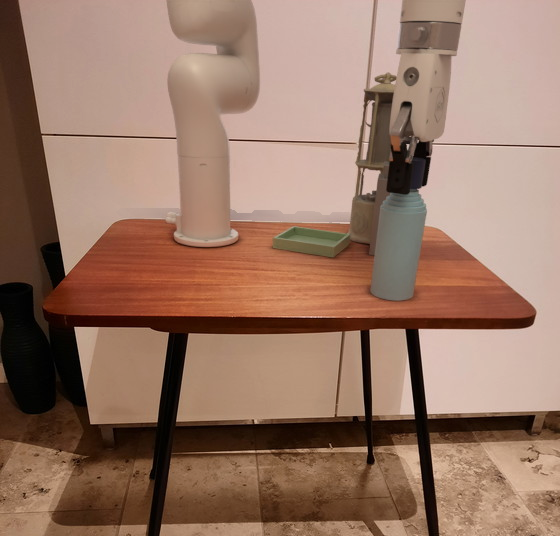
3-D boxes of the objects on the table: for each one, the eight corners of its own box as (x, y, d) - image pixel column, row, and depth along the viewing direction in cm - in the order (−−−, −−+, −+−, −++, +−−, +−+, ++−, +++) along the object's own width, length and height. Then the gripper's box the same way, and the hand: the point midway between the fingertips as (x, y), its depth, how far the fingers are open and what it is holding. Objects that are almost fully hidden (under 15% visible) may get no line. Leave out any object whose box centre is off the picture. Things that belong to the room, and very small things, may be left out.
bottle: (365, 296, 83) (380, 164, 74) (376, 283, 88) (391, 159, 79) (408, 303, 81) (429, 169, 72) (416, 290, 86) (437, 163, 77)
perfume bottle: (405, 258, 101) (421, 154, 92) (368, 254, 102) (380, 151, 93) (405, 248, 107) (420, 149, 98) (370, 245, 108) (382, 147, 99)
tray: (272, 248, 104) (272, 237, 103) (292, 235, 112) (293, 226, 111) (333, 257, 100) (334, 246, 99) (349, 244, 108) (350, 234, 107)
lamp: (352, 245, 107) (369, 71, 93) (339, 228, 119) (352, 71, 104) (403, 245, 108) (427, 73, 94) (385, 228, 120) (405, 73, 105)
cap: (414, 183, 79) (418, 156, 77) (426, 189, 75) (431, 161, 74) (387, 183, 78) (391, 156, 76) (398, 189, 75) (402, 160, 73)
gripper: (437, 37, 60) (412, 203, 69) (474, 46, 73) (449, 183, 82) (373, 37, 63) (358, 195, 72) (420, 45, 77) (401, 177, 85)
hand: (407, 188), depth 77 cm, fingers open, 6 cm apart
